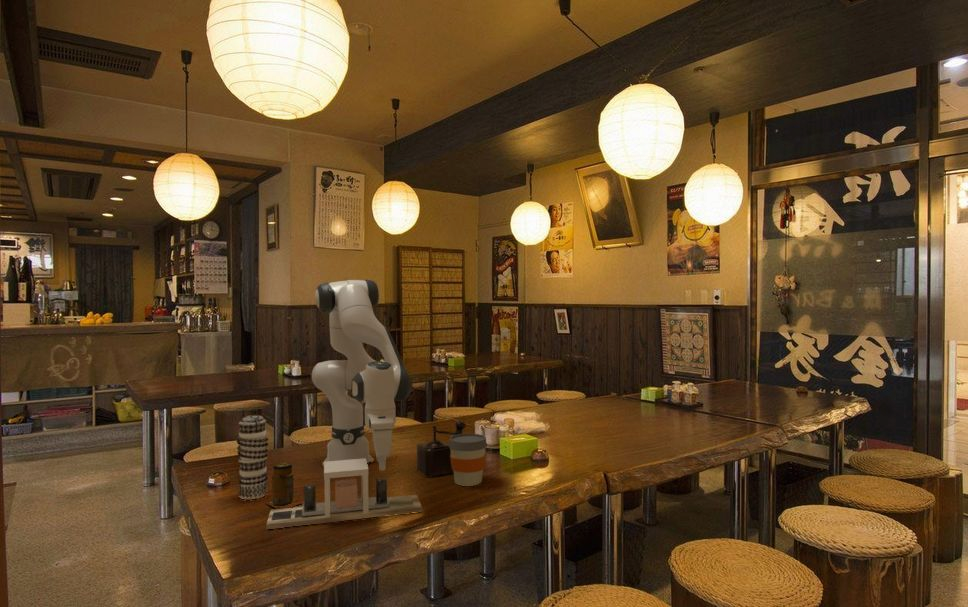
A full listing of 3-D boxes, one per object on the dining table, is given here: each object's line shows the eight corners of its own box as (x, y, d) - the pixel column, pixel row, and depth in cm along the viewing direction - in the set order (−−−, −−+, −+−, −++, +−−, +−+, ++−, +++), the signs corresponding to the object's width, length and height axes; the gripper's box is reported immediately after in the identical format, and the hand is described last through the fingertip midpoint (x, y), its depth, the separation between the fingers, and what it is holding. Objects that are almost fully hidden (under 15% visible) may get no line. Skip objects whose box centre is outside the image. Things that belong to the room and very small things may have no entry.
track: (270, 515, 159) (270, 509, 159) (416, 499, 170) (416, 494, 170) (266, 530, 148) (266, 524, 148) (422, 512, 160) (422, 507, 160)
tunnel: (325, 504, 163) (324, 461, 163) (366, 499, 166) (366, 458, 166) (324, 518, 152) (323, 472, 152) (369, 513, 156) (368, 468, 155)
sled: (303, 507, 159) (302, 483, 159) (387, 498, 166) (387, 475, 166) (302, 516, 153) (301, 491, 153) (389, 506, 159) (389, 482, 159)
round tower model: (232, 495, 175) (231, 417, 175) (261, 488, 181) (260, 412, 181) (244, 503, 168) (242, 421, 168) (273, 495, 175) (272, 416, 175)
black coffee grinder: (427, 478, 190) (426, 426, 190) (416, 470, 200) (415, 420, 200) (468, 472, 197) (467, 421, 197) (455, 463, 207) (455, 415, 206)
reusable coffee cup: (466, 474, 194) (466, 431, 194) (494, 481, 186) (494, 436, 186) (441, 483, 184) (441, 438, 184) (470, 491, 177) (469, 444, 176)
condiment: (288, 498, 173) (287, 459, 172) (302, 504, 167) (301, 465, 167) (265, 504, 167) (265, 465, 167) (279, 511, 161) (278, 470, 161)
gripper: (367, 412, 171) (367, 457, 171) (371, 425, 151) (372, 476, 151) (387, 410, 172) (388, 455, 172) (394, 423, 153) (395, 474, 153)
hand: (380, 465), depth 161 cm, fingers open, 8 cm apart
